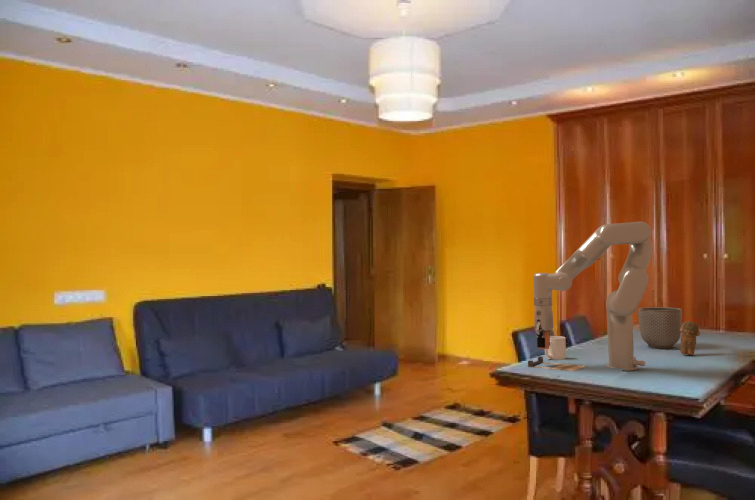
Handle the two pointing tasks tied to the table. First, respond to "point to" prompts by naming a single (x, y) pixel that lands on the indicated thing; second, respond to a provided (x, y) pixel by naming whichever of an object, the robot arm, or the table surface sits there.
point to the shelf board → (560, 367)
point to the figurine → (688, 337)
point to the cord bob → (546, 340)
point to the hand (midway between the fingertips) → (543, 346)
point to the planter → (660, 326)
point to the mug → (556, 348)
